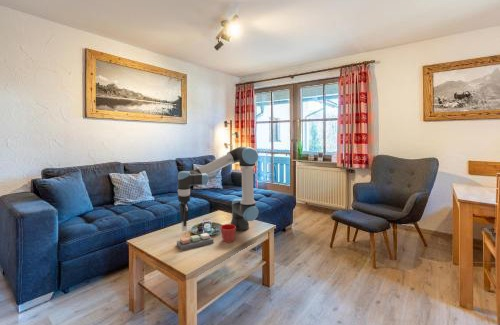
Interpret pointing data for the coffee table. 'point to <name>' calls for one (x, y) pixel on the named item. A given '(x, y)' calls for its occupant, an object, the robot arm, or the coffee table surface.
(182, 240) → the key terracotta
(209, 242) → the grey rectangular tray
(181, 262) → the coffee table surface
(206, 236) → the key ivory
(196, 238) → the key sage
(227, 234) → the flower pot
